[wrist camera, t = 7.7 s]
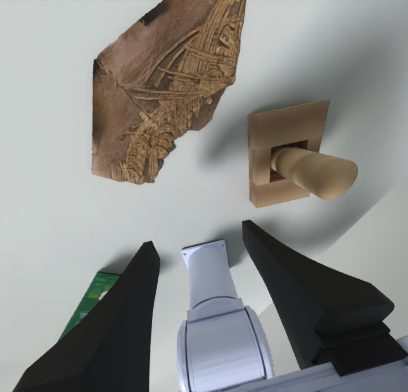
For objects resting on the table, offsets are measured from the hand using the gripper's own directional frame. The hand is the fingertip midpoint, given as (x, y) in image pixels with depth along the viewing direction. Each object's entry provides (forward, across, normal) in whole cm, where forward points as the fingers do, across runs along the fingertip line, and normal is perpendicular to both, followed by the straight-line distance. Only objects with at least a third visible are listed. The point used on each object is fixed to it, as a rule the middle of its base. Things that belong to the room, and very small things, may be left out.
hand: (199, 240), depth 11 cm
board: (+10, -12, -2) cm, 16 cm away
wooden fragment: (+11, +1, -12) cm, 16 cm away
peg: (+10, -12, -2) cm, 16 cm away
